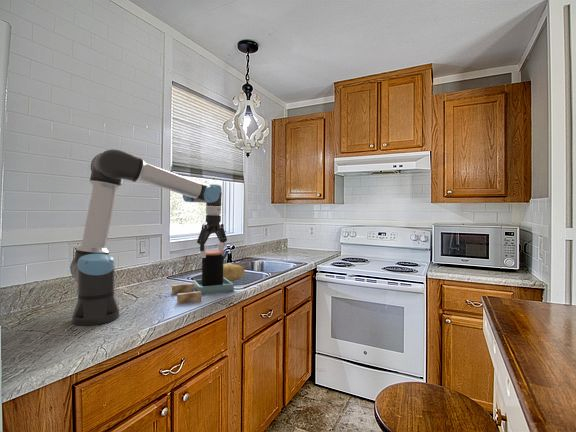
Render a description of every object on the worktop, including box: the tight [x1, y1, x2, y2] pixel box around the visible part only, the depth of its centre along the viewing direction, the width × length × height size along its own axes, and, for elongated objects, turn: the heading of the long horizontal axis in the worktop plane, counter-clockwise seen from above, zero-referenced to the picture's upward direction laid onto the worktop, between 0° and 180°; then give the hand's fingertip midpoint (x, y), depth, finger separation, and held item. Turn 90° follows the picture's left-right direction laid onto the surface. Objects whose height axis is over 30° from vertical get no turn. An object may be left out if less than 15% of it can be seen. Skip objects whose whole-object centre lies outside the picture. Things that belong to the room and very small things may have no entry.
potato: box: [223, 263, 245, 282], centre depth 185 cm, size 10×14×10 cm
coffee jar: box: [201, 250, 224, 287], centre depth 166 cm, size 11×11×18 cm
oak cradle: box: [171, 282, 202, 305], centre depth 150 cm, size 10×19×4 cm, turn 27°
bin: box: [192, 277, 235, 295], centre depth 166 cm, size 17×17×4 cm
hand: (212, 256), depth 165 cm, fingers open, 13 cm apart
